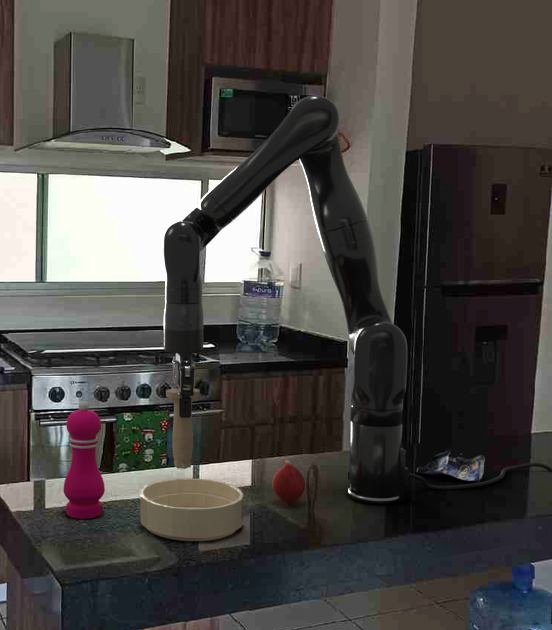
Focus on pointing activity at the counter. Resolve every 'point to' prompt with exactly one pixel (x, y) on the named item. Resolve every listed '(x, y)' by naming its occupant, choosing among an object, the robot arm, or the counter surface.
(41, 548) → the counter surface
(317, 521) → the counter surface
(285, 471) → the onion
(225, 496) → the bowl
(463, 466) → the snack package
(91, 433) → the pepper mill
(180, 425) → the handle
